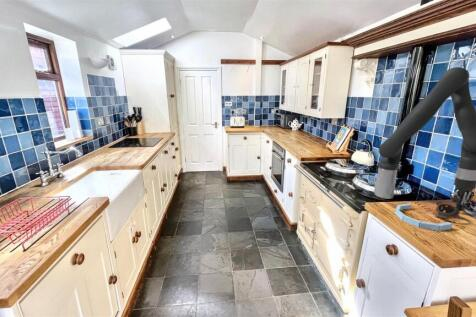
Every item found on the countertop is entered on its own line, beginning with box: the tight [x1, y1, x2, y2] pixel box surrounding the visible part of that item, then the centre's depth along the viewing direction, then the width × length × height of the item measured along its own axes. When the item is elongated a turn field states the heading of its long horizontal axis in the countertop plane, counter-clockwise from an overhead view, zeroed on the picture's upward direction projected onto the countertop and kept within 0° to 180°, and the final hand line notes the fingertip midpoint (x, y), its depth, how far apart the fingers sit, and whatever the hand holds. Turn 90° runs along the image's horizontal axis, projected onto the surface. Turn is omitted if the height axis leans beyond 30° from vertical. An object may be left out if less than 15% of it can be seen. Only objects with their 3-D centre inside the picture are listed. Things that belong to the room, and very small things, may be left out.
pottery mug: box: [434, 200, 461, 220], centre depth 109 cm, size 12×10×8 cm
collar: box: [394, 203, 453, 231], centre depth 107 cm, size 14×21×2 cm
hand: (458, 210), depth 111 cm, fingers closed
